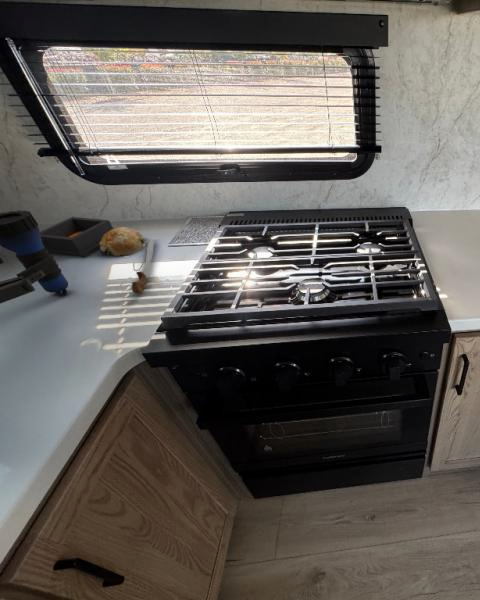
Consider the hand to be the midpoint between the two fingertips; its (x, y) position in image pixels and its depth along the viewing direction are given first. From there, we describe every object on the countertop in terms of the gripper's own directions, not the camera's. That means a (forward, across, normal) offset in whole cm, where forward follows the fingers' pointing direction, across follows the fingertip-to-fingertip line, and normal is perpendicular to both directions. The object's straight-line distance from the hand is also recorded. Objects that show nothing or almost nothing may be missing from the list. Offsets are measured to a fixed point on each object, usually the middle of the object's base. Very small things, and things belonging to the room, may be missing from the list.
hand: (25, 259), depth 75 cm
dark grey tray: (+24, +16, +11) cm, 31 cm away
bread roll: (+24, +2, +11) cm, 26 cm away
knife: (+16, -12, +11) cm, 23 cm away
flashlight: (+2, 0, +11) cm, 11 cm away
